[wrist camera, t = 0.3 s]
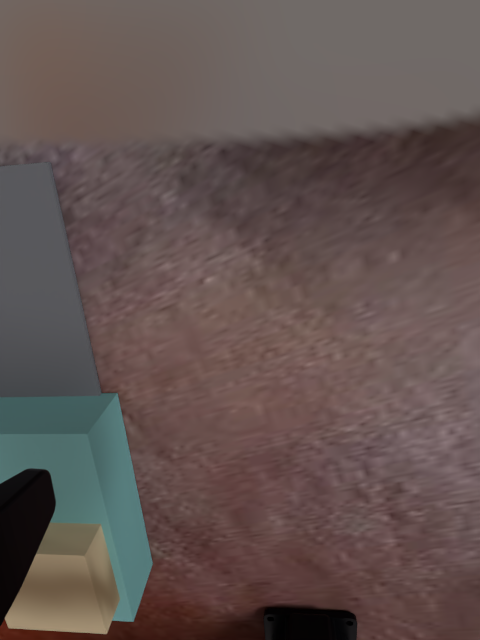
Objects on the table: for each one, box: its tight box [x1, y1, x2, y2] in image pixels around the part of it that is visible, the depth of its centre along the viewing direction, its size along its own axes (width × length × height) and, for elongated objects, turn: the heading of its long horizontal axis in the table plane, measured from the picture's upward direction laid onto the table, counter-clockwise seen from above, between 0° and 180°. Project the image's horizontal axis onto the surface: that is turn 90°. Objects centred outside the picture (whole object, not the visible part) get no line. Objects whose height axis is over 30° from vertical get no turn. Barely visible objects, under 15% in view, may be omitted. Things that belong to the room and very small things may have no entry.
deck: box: [0, 393, 153, 622], centre depth 26 cm, size 14×16×4 cm
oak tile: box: [5, 523, 120, 634], centre depth 23 cm, size 6×6×2 cm
